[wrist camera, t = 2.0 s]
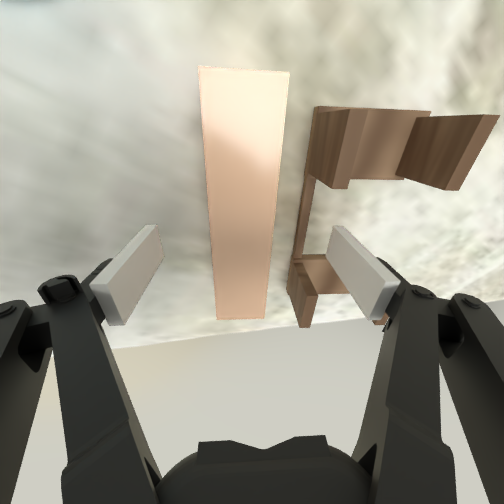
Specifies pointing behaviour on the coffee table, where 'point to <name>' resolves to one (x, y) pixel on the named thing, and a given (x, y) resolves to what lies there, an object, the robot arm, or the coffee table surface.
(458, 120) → the rack
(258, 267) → the peach rectangular block
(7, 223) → the coffee table surface
